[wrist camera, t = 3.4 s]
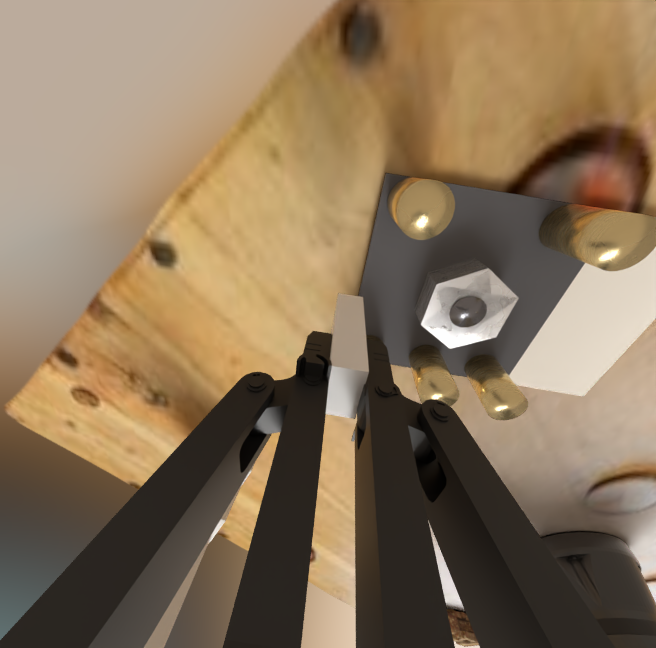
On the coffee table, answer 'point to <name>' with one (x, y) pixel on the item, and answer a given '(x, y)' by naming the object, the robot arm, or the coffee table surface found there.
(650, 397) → the coffee table surface
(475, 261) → the nut
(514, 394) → the spacers
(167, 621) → the sculpture
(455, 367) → the mat
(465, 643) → the sculpture
